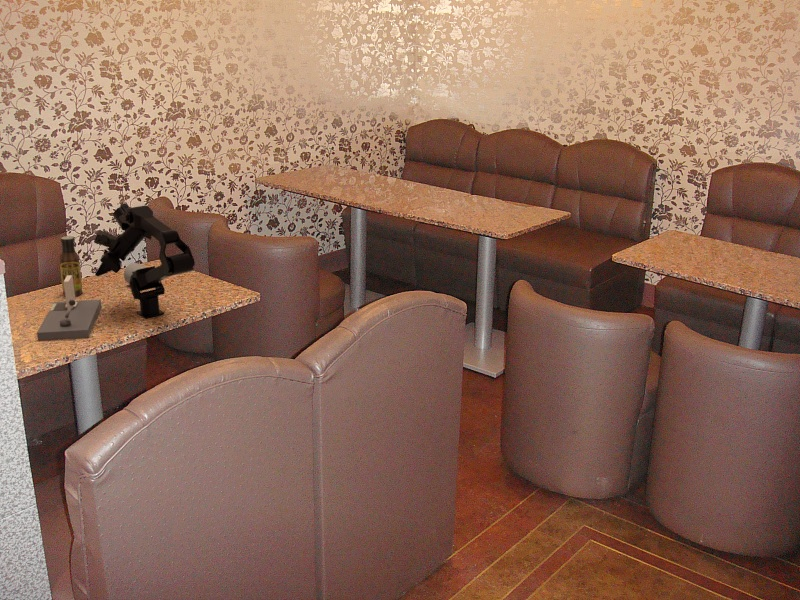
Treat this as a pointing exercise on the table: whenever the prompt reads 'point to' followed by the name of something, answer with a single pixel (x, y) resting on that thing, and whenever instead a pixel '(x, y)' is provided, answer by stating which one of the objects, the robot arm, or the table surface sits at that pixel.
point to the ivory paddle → (69, 290)
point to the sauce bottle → (70, 264)
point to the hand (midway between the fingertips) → (96, 274)
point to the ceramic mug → (131, 270)
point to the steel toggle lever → (69, 308)
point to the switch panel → (69, 321)
